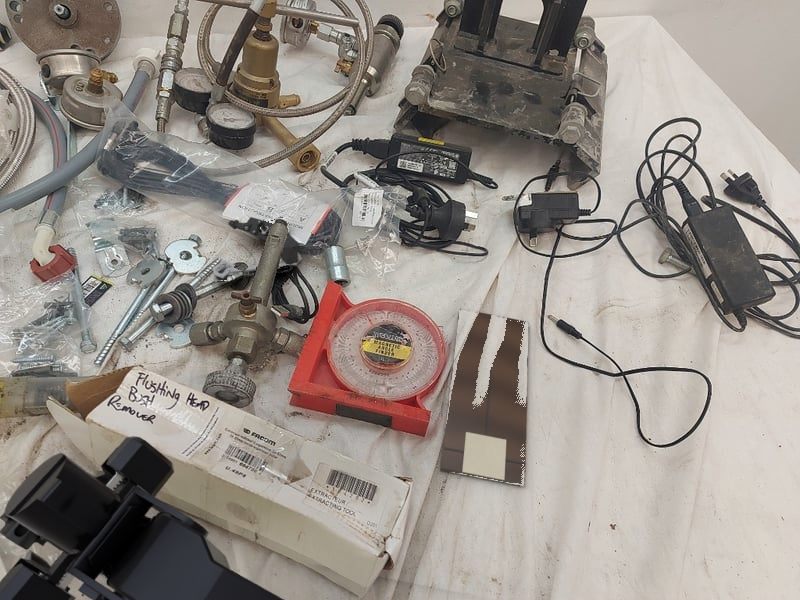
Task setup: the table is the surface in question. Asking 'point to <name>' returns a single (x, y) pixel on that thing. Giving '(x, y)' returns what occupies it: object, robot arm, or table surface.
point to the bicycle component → (253, 227)
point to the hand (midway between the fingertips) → (65, 515)
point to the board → (487, 410)
